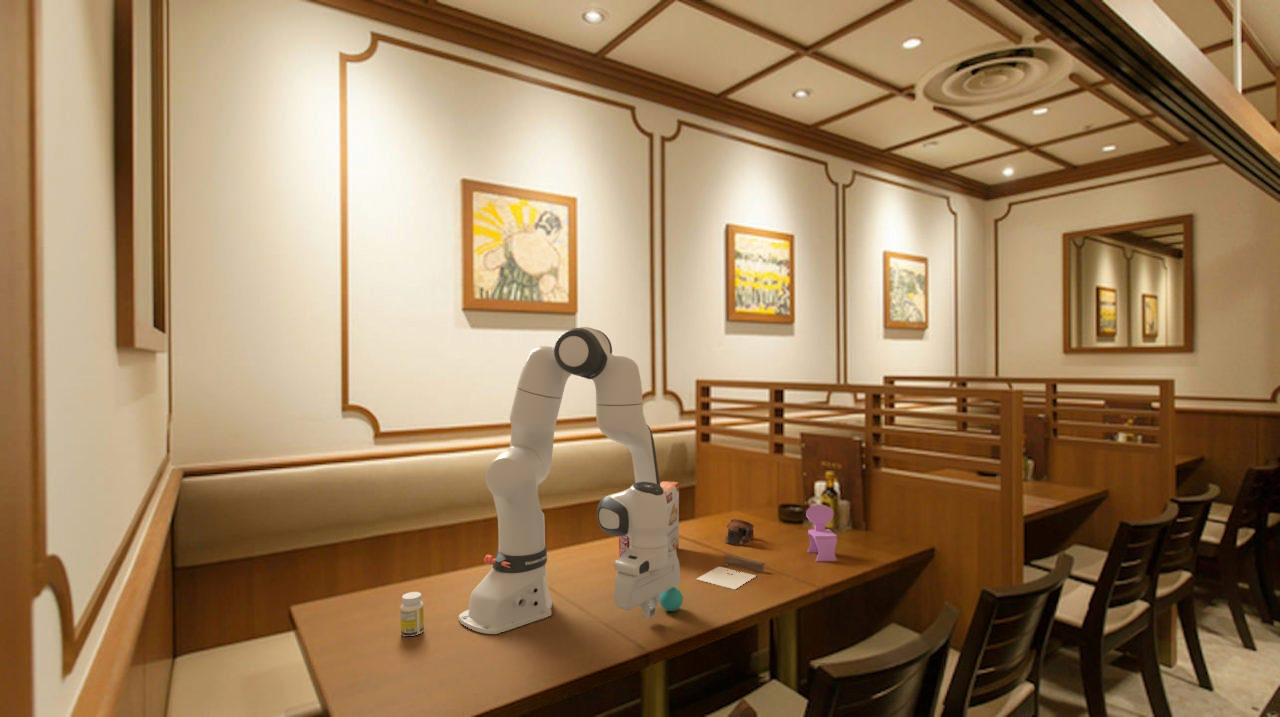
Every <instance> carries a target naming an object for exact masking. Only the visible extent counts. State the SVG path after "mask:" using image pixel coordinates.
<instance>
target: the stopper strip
mask: <svg viewBox="0 0 1280 717" xmlns="http://www.w3.org/2000/svg"><path fill="white" fill-rule="evenodd" d="M725 564H728V565H727V566H729V565H732V566H731V567H733V566H736V567H735V568H738V567H740V569H742V568H744V569H743V570H746V569H748V570H747V571H750V570H752V571H751V572H756V573H759V572H760V574H763V573H765V562H762V561H759V560H753V559H751V558H745V557H740V556H736V555H731V554H724V556H723V565H725Z"/></svg>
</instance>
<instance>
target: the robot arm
mask: <svg viewBox="0 0 1280 717" xmlns="http://www.w3.org/2000/svg"><path fill="white" fill-rule="evenodd" d="M612 353H613V347H612V342H611V340H610V339H609V338H608V336H607V335H606V334H605V333H604V332H602V331H601V330H599V329H595V328H593V327H592V328H591V327H587V326H584V327H583V326H581V327H573V328H570V329H568V330H566V331H564V332H563V333H562V334H560V336H558V338H557V340H556V342H555V345H554V347H553V346H546V345H545V346H542V345H541V346H538V347H535V348H533V349H531V351H530V352H529V354H528V356H527V357H526V360H525V362H524V365H523V367H522V369H521V372H520V375H519V379H518V382H517V387H516V390H515V395H514V398H513V403H512V406H511V410H510V415H509V422H510V427H511V428H510V429H511V430H510V433H511V434H510V442H509V446H508V449H507V450H504V451H503V452H501V453H500V454H498V455H496V457H495V458H493V460H492V461H491V462H490V464H489V465H488V466H487V469H486V472H485V476H484V478H485V484H486V487H487V489H488V490H489V492H490V493H491V494H492V497H493V501H494V506H495V510H496V515H497V516H496V517H497V526H498V527H497V528H498V529H497V530H498V532H497V533H498V536H497V537H498V548H497V550H496V553H495V556H493V555H491V554H486V555H485V557H484V558H483V561H484V564H488V565H490V566H491V565H492V568H491V570H490V571H489V572H488V573H487V574H486V575H485V577H484V578H483V579H482V580H481V581H480V582H479V583H478V584H477V586H476V587H474V588H473V590H472V592H471V594H470V597H469V603H468V609H466V610H464V611H463V612H461V613H460V614H459V615H458V622H459V621H460V622H459V624H461V625H462V624H463V625H464V627H465V626H466V628H467V627H468V629H470V630H471V629H472V631H474V632H477V633H481V634H486V635H487V634H488V635H497V634H501V632H502V633H503V632H507V631H510V630H513V629H516V628H518V627H522V626H525V625H527V624H531V623H533V622H537V621H540V620H543V619H547V618H549V617H551V616H552V615H551V614H553V613H552V607H553V600H552V598H551V593H550V589H549V584H548V577H547V568H546V565H547V562H548V552H547V546H546V542H545V540H546V537H545V536H546V532H545V531H546V530H545V529H546V527H545V521H546V520H545V518H546V517H545V514H544V512H543V511H542V508H541V507H542V506H541V503H540V497H539V494H538V493H539V492H538V491H539V485H540V484H541V483H542V482H544V481H545V480H546V479H547V477H548V476H549V474H550V472H551V469H552V466H553V457H552V456H553V449H554V436H555V432H556V431H555V429H556V424H557V419H558V416H559V413H560V409H561V405H562V404H561V403H562V399H563V395H564V392H565V387H566V383H567V381H568V379H569V378H570V376H572V375H573V376H577V377H581V378H584V379H587V380H592V381H593V383H594V387H595V418H596V419H595V420H596V423H597V428H598V429H599V430H600V432H601V433H602V434H603V435H604V436H605V437H606V438H608V439H609V440H611V441H613V442H616V443H619V444H622V445H623V446H625V447H627V448H628V451H629V452H630V454H631V458H632V465H633V466H632V467H633V472H634V479H635V480H634V481H635V482H634V483H633V484H632V485H631V486H630V487H629V488H627V489H624V490H622V491H619V492H616V493H612V494H608V495H606V496H604V497H602V498H601V499H600V501H599V503H598V506H597V510H596V517H597V518H596V519H597V523H598V525H599V527H600V529H601V530H602V531H603V532H604V533H605V534H607V535H609V536H612V537H619V536H624V535H626V536H628V537H629V539H630V542H629V545H630V546H629V548H628V549H627V550H626V551H625V552H624V554H623V555H622V556H621V557H620V556H619V557H618V558H617V559H616V560H615V562H614V570H615V571H617V573H616V575H615V577H614V590H613V591H614V592H613V593H614V605H616V607H617V608H618V609H621V610H623V611H628V612H629V611H631V610H632V609H633V610H634V608H637V607H639V606H640V608H641V610H642V617H643V619H648V620H649V618H652V617H654V616H655V615H657V609H658V608H657V607H658V604H659V603H660V594H662V593H663V592H665V591H667V590H669V589H671V588H673V587H675V588H676V587H677V586H678V585H679V584H680V581H681V570H680V569H681V568H680V561H679V557H678V556H677V550H675V548H674V547H672V546H669V547H668V538H667V534H666V530H667V526H668V507H667V499H666V495H665V492H664V489H663V488H662V487H661V486H660V483H661V481H660V476H659V469H658V467H659V466H658V462H657V454H656V447H655V440H654V436H653V432H652V430H651V427H650V426H649V425H648V424H647V421H646V418H645V415H644V407H643V406H644V405H643V404H644V402H643V399H644V398H643V387H642V380H641V374H640V371H639V366H638V364H637V363H636V361H635V360H633V358H632V359H631V358H630V357H626V356H622V355H613V354H612ZM548 616H549V617H548ZM463 625H462V626H463Z"/></svg>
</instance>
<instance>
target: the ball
mask: <svg viewBox="0 0 1280 717" xmlns="http://www.w3.org/2000/svg"><path fill="white" fill-rule="evenodd" d="M683 597H684V596H683V594H682V592H681V590H679V588H677V587H676V586H675V587H673V588H671V589H669V590H667V591H665V592H663V593H662V594H660V599H659V603H660V605H661V608H663V609H664V610H666V611H667V612H675V611H677V610H679V609H680V608H681V606H682V605H683V600H684V598H683Z"/></svg>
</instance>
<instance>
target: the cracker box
mask: <svg viewBox="0 0 1280 717" xmlns="http://www.w3.org/2000/svg"><path fill="white" fill-rule="evenodd" d="M660 486H661V487H662V488H663V489H664V492H665V495H666V499H667V507H668V526H667V530H666V534H667V538H668V547H669V546H672V547H674V548H675V550H676V551H678V549H679V546H680V545H679V542H680V541H679V535H680V533H679V532H680V531H679V530H680V526H679V525H680V524H679V523H680V522H679V521H680V520H679V519H680V518H679V517H680V514H679V513H680V510H679V509H680V506H679V504H680V498H679V497H680V483H679V482H677V481H664V480H663V481H660Z"/></svg>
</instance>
